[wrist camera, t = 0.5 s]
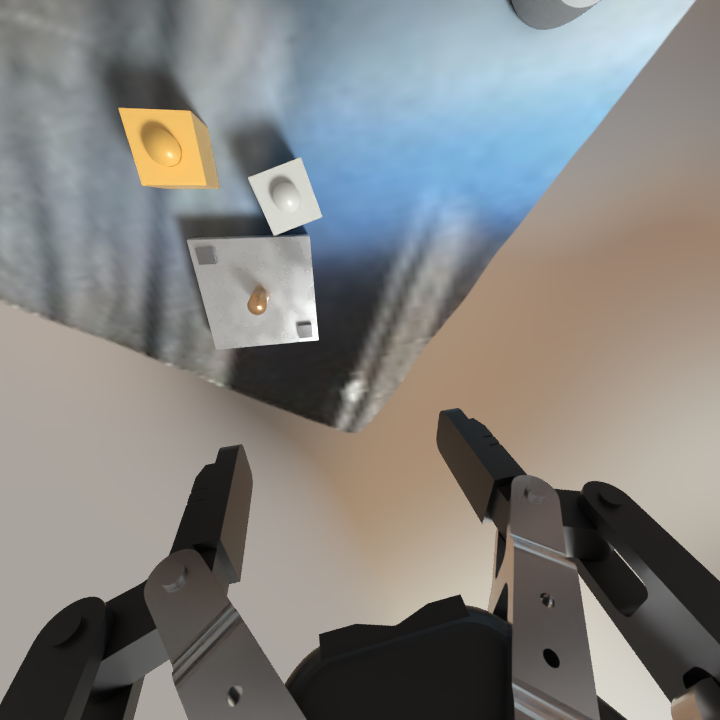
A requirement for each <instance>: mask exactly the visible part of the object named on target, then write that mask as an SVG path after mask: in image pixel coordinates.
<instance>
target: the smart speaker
mask: <svg viewBox="0 0 720 720" xmlns="http://www.w3.org/2000/svg"><path fill="white" fill-rule="evenodd" d="M600 1H601V0H512V3H513V6H514V9H515V11H516V13H517V15H518V16H519V18H520V19H521V20H522V21H523V22H524V23H525V24H526V25H528V26H530V27H532V28H535V29H540V30H546V29H552V28H556V27H559V26H562V25H564V24H566V23H568V22H570V21H572V20H574V19H575V18H577V17H579V16H580V15H582V14H583V13H585V12H586V11H587V10H589V9H590V8H592V7H593V6H594V5H596V4H597V3H598V2H600Z"/></svg>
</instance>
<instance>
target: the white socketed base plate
mask: <svg viewBox="0 0 720 720" xmlns="http://www.w3.org/2000/svg"><path fill="white" fill-rule="evenodd" d="M187 243H188V247H189V250H190V254H191V258H192V262H193V265H194V269H195V273H196V276H197V280H198V284H199V288H200V291H201V295H202V299H203V302H204V306H205V310H206V314H207V317H208V321H209V325H210V328H211V332H212V336H213V340H214V343H215V347H216V350H218V349H229V348H239V347H250V346H260V345H271V344H281V343H292V342H302V341H313V340H318V328H317V317H316V305H315V294H314V282H313V271H312V259H311V248H310V236H309V235H308V234H287V235H275V236H274V235H254V236H222V237H195V238H192V239H188V240H187Z"/></svg>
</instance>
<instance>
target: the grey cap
mask: <svg viewBox="0 0 720 720" xmlns="http://www.w3.org/2000/svg"><path fill="white" fill-rule="evenodd" d="M248 180H249V182H250V184H251V186H252V188H253V191H254V193H255V195H256V197H257V199H258V202H259V204H260V206H261V208H262V210H263V213H264V215H265V217H266V219H267V221H268V224H269V226H270V228H271V230H272V232H273V235H274V236H275V235H278V234H280V233H283V232H285V231H288V230H290V229H293V228H296V227H298V226H301V225H303V224H306V223H308V222H311V221H313V220H316V219H318V218H321V217H322V214H321V212H320V209H319V206H318V203H317V201H316V198H315V195H314V192H313V190H312V187H311V184H310V181H309V179H308V176H307V173H306V170H305V167H304V165H303V162H302V159H301V157H300V158H297V159H295V160H292V161H290V162H287V163H284V164H282V165H279V166H277V167H274V168H272V169H269V170H266V171H264V172H261V173H259V174H256V175H254V176H251V177H248Z"/></svg>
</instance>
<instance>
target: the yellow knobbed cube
mask: <svg viewBox="0 0 720 720" xmlns="http://www.w3.org/2000/svg"><path fill="white" fill-rule="evenodd" d="M118 109H119V112H120V115H121V119H122V122H123V125H124V128H125V132H126V135H127V138H128V141H129V144H130V148H131V151H132V154H133V157H134V161H135V164H136V167H137V170H138V173H139V177H140V180H141V183H142V185H144V186H150V187H157V188H164V189H220V186H219V181H218V176H217V172H216V167H215V162H214V157H213V152H212V147H211V142H210V137H209V132H208V128H207V126H206V125H204V124H203V123H202V122H201V121H200V120H199V119H198V118H197V117H196V116H195V115H194V114H193V113H192V112H191V111H185V110H161V109H136V108H118Z"/></svg>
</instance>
